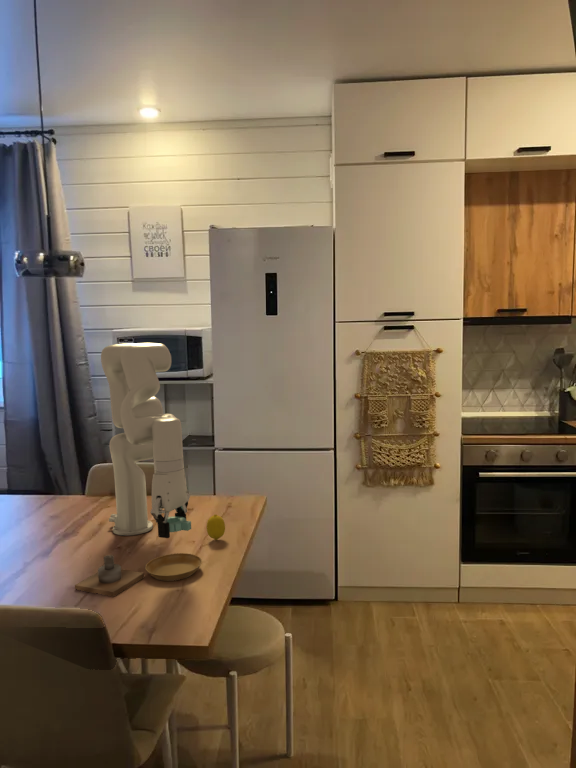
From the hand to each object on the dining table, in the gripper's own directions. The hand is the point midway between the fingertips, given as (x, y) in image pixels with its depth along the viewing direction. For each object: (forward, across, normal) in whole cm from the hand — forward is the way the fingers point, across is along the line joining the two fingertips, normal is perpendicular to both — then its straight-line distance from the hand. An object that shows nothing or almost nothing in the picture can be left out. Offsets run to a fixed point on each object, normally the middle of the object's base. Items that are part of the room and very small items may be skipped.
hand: (172, 532), depth 158 cm
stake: (+11, +11, -12) cm, 20 cm away
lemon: (+11, -25, -2) cm, 28 cm away
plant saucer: (+12, -1, -1) cm, 12 cm away
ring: (-1, 0, 0) cm, 1 cm away
